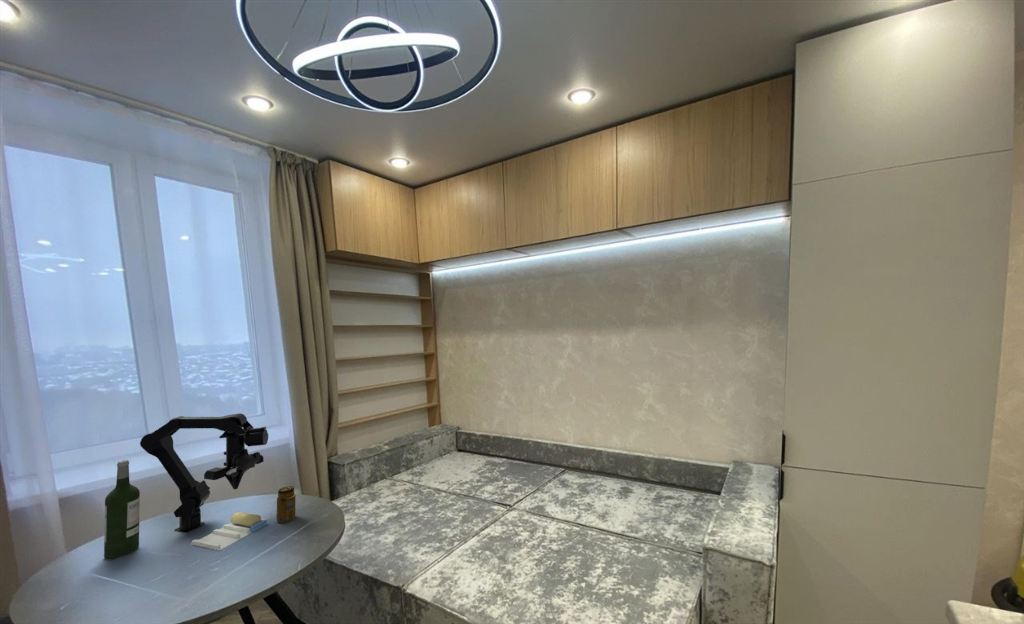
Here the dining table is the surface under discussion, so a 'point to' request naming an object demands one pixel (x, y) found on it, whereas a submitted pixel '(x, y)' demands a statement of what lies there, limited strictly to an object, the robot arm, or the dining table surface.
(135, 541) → the wine bottle
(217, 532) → the white slotted organizer tray
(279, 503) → the condiment
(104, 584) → the dining table surface
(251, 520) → the cream soap bar
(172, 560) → the dining table surface
